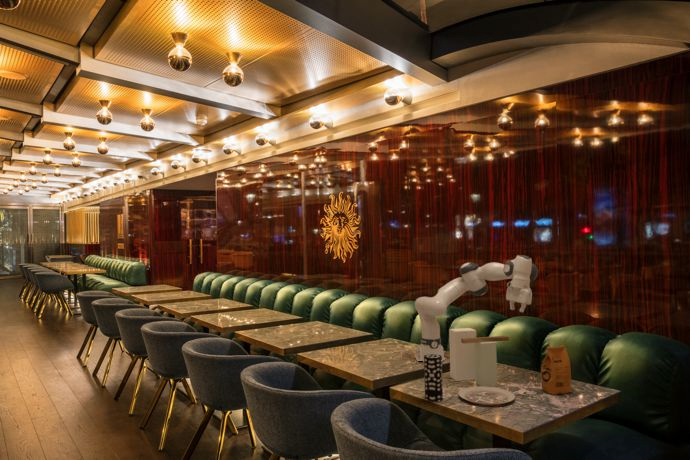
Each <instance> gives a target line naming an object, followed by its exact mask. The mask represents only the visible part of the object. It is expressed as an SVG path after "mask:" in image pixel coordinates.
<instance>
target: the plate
mask: <svg viewBox="0 0 690 460" xmlns="http://www.w3.org/2000/svg"><path fill="white" fill-rule="evenodd" d="M474 392H475V393H492V394H497V395H501V396H503V397H505V398H507V401H504V402H495V403H494V402H493V403H492V402H490V403H489V402H481V401H480V402H478V401H474V400H471V399H468V398H466V397H467V395H469V394H473V393H474ZM458 396H459V397H460V398H461V399H464V400H466V401H468V402H470V403H473V404H475V405H476V404H477V405H480V406H481V405H482V406H499V405H504V404H506V403H509V402H512V401H514V400H515V398H516V396H515V394H514V393H513V392H511V391H510V390H506V389H503V388H499V387H496V386H494V387H481V386H469V387H468V386H467V387H464V388H463V389H460V390H459V391H458Z"/></svg>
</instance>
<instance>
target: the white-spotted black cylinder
mask: <svg viewBox="0 0 690 460" xmlns="http://www.w3.org/2000/svg"><path fill="white" fill-rule="evenodd" d="M423 368H424V369H423V372H424V373H423V374H424V375H423V376H424V380H423V381H424V400H425V401H428V402H434V403H437V402H442V401H443V400H444V388H443V387H444V386H443V383H444V382H443V362H442V356H441V355H437V354H428V355H424V362H423Z"/></svg>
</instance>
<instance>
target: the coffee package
mask: <svg viewBox="0 0 690 460" xmlns="http://www.w3.org/2000/svg"><path fill="white" fill-rule="evenodd" d="M545 350H546V353H545V357H544V359H543V360H542V364H541V367H540V368H541V369H540V370H541V389H542V391H543V392H546V393H547V394H549V395H553V396H555V395H558V394H561V395H565V394H568V393H571V392H572V375H571V374H572V372H571V371H572V370H571V359H570V357H569V354H568V352H567V348H566V346H565V345H564V344H562V345H560V346H559V345H558V346H557V347H556V346H545Z"/></svg>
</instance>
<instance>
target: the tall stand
mask: <svg viewBox="0 0 690 460" xmlns="http://www.w3.org/2000/svg"><path fill="white" fill-rule="evenodd" d="M448 333H449V335H448V336H449V338H448V339H449V374H450V378H451V379H453V381H456V382H460V381H461V382H462V381H473V380H475V381H476V379H475V343H461V339H462V338H477V329H473V328H471V327H462V328H461V327H460V328H459V327H458V328H449V330H448Z"/></svg>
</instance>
